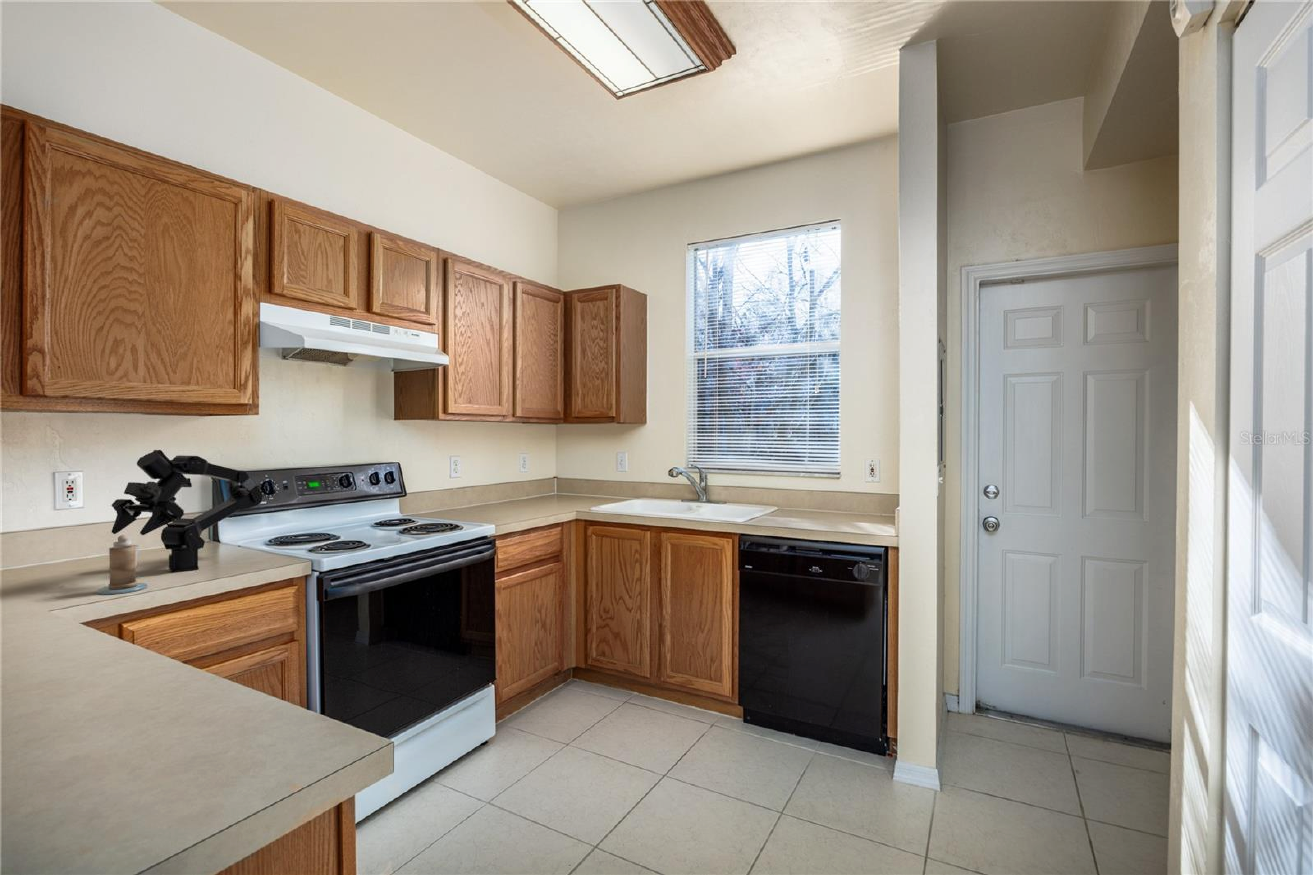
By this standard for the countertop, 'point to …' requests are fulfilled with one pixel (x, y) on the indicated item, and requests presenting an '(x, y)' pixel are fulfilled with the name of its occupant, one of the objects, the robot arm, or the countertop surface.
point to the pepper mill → (122, 565)
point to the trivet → (110, 592)
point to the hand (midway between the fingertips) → (127, 533)
